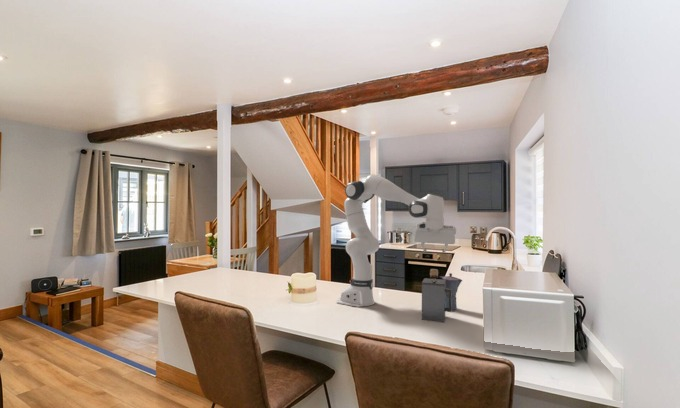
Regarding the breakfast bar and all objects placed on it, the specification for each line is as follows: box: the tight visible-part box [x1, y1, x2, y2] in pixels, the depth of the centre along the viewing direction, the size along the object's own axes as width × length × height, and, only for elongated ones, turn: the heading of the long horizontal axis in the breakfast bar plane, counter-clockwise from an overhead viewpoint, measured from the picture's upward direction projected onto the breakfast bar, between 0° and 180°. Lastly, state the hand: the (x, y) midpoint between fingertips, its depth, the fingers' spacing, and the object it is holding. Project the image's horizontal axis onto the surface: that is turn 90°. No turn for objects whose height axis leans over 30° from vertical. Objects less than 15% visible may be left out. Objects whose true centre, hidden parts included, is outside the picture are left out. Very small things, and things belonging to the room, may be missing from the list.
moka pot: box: [435, 272, 463, 312], centre depth 198 cm, size 10×15×20 cm, turn 78°
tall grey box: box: [421, 277, 452, 323], centre depth 181 cm, size 14×11×19 cm
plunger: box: [429, 268, 439, 282], centre depth 181 cm, size 8×8×23 cm
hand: (434, 252), depth 181 cm, fingers open, 8 cm apart
